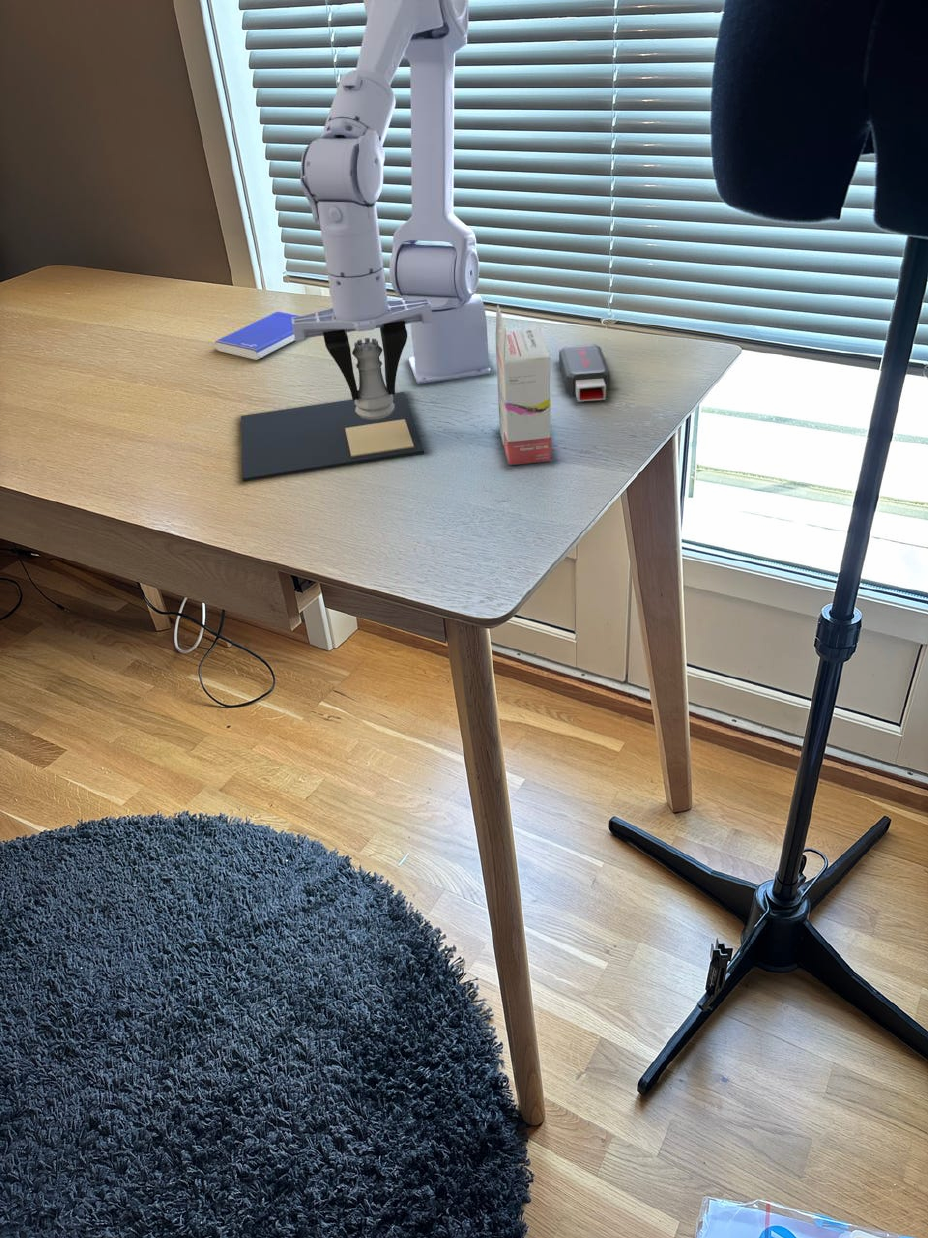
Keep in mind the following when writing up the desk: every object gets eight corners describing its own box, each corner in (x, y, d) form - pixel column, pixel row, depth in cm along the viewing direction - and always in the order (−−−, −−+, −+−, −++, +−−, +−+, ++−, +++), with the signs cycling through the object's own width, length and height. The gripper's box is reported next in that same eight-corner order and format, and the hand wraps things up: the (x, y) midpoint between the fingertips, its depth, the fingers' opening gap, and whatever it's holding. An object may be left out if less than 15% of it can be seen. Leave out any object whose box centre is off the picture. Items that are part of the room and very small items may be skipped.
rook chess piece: (389, 421, 104) (380, 351, 100) (350, 420, 105) (339, 350, 100) (399, 403, 108) (391, 334, 103) (362, 402, 109) (352, 334, 104)
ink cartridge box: (554, 462, 102) (552, 327, 93) (507, 467, 102) (501, 332, 93) (542, 426, 109) (539, 297, 100) (498, 431, 109) (491, 302, 100)
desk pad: (404, 394, 118) (403, 390, 118) (424, 453, 106) (423, 448, 105) (241, 418, 116) (240, 414, 116) (242, 481, 104) (241, 476, 103)
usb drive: (599, 360, 122) (600, 339, 121) (613, 400, 113) (614, 378, 111) (558, 363, 122) (558, 342, 121) (569, 404, 113) (569, 382, 111)
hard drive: (256, 349, 129) (316, 318, 137) (214, 339, 133) (275, 310, 141) (258, 360, 130) (318, 329, 138) (216, 350, 134) (277, 320, 142)
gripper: (285, 290, 93) (309, 418, 101) (432, 270, 95) (443, 398, 103) (282, 268, 99) (305, 391, 107) (421, 250, 100) (432, 373, 108)
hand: (372, 393), depth 105 cm, fingers closed on rook chess piece, 3 cm apart
